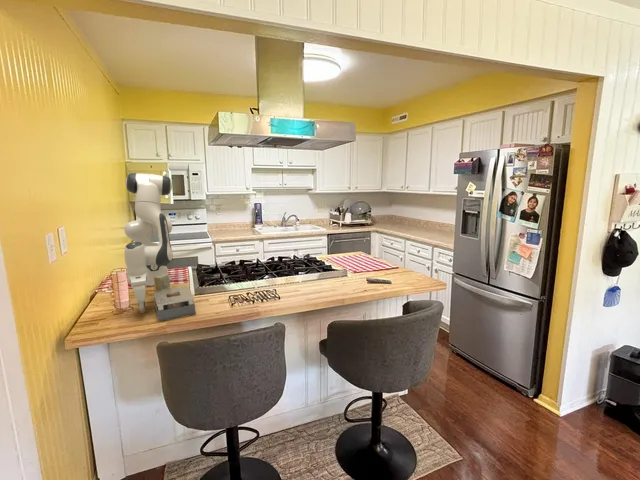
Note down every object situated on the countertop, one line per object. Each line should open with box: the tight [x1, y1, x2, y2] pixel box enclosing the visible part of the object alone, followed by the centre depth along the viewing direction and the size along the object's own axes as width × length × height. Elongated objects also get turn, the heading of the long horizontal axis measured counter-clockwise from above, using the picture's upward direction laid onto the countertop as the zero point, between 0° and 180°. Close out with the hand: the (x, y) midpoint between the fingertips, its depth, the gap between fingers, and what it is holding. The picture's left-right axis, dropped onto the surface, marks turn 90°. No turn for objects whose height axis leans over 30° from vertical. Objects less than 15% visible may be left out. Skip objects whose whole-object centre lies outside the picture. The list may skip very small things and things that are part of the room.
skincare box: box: [154, 273, 171, 291], centre depth 183 cm, size 6×4×12 cm
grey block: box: [136, 300, 147, 314], centre depth 165 cm, size 3×3×6 cm
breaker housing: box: [153, 285, 197, 323], centre depth 166 cm, size 20×16×8 cm
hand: (141, 304), depth 164 cm, fingers open, 8 cm apart
